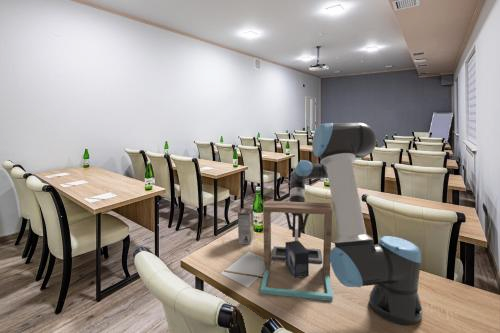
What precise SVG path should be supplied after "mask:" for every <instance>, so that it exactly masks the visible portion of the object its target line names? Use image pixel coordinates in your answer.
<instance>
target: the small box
mask: <svg viewBox="0 0 500 333" xmlns="http://www.w3.org/2000/svg"><path fill="white" fill-rule="evenodd" d="M285 247H286V260H285V266H286V267H287V269H288V270H289V271H290V273H291V274H292V276H293V277H294V279H295V278H302V277H307V276H309V272H310V270H309V268H310V267H309V263H310V262H309V251H308V250H307V249H308V248H306V247H305V245H303V244H302V242H300V240H298V241H295V240H292V241H286V242H285Z"/></svg>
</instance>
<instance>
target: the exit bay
mask: <svg viewBox="0 0 500 333" xmlns="http://www.w3.org/2000/svg"><path fill="white" fill-rule="evenodd" d="M263 272H264V271H263ZM269 273H270V270H265V272H264V273H263V278H262V282H261V285H260V291H259V292H260V294H265V295H273V296H274V295H275V296H281V297H282V296H284V297H294V298H301V299H302V298H305V299H314V300H323V301H332V302H333V299H334V298H333V291H332V286H331V281H330V280H331V278H329V275H325V277H324V281H325V282H324V283H325V289H326V292H325V293H324V292H315V291H306V290H298V289H297V290H295V289H287V288H286V289H285V288H276V287H267V284H268V279H269Z"/></svg>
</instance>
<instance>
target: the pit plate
mask: <svg viewBox="0 0 500 333" xmlns="http://www.w3.org/2000/svg"><path fill="white" fill-rule="evenodd" d="M272 249H273V250H272V252H271V260H278V261H279V260H280V261H286V246H273V248H272ZM306 249H307V250H308V251H309V263H317V264H323V256H322V250H321V249H318V248H317V249H316V248H306Z"/></svg>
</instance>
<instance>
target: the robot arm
mask: <svg viewBox="0 0 500 333" xmlns="http://www.w3.org/2000/svg"><path fill="white" fill-rule="evenodd" d="M377 141H378V139H377V134H376V132H375V130H374V129H373V128H372V127H371V126H370V125H368V124H366V123H363V122H329V123H328V122H326V123H320V124H319V125H317V127H316V129H315V131H314V133H313V137H312V143H311V145H312V147H311V148H312V153H313V154H314V156H315V157H317V158H320V163H312V162H310V161H309V160H305V159H303V160H301V161H299V162H298V163H297V164H296V166H295V169H294V170H293V171H291V173H290V177H289V178H290V181H289V182H290V185H289V186H290V187H289V188H290V189H289V202H306V199H305V198H306V195H305V194H306V182H308V180H316V179H317V180H318V179H327V180H328V185H329V190H330V195H331V201H332V203H331V204H332V210H333V213H334V214H333V215H334V219H335V225H336V231H337V237H336V239H335V240H334V241H333V242H334V247H333V248H331V251H330V267H331V268H332V271H333V273H334V276H335V277H336V279H337V280H338V282H339V283H340V284H341V285H343V286H345V287H347V288H355V287H356V288H362V287H366V286H367V287H368V286H373V287H372V289H371V291H370V293H369V300H368V301H369V306H370V308H371V309H372V311H374V313H376V314H377V315H378V316H380V317H381V318H382V319H384V320H387V321H389V322H392V323H395V324H398V325H404V326H405V325H406V326H407V325H408V326H411V325H416V324H417V323H419V322H420V321H421V320H422V318H423V307H422V303H421V299H420V296H419V293H418V292H419V279H420V272H421V264H422V260H421V258H422V255H421V253H422V252H421V249H420V248H419V247H418V246H417V245H416V244H415V243H413V242H412V241H409V240H406V239H404V238H401V237H398V236H390V235H384V236H381V237H380V238H379V239H378V243H377V244H375V243H374V240H373V238H372V237H371V236H370V235H368V234H367V230H366V226H365V221H364V215H363V212H362V211H363V210H362V206H361V202H360V196H359V195H360V194H359V191H358V186H357V185H358V184H357V180H356V177H355V172H354V171H355V170H354V167H353V166H354V165H353V163H354V162H355V161H357V159H363V158H365V157H367V156H368V155H370V154H371V153H372V152H373V151H374V150H375V148H376V147H377ZM289 214H291V215H292V222H291V220H290V215H289ZM284 215H285V216H286V221H287V222H286V223H287V225H288V229H289V230H291V231H292V232H291V233H292V238H294V241H299V239H301V236H302V231H305V229H306V225H307V222H308V218H309V216H310V215H311V214H305V215H304V214H303V213H284ZM302 215H304V219H303V223H302ZM296 217H297V223H298V224H297V225H298V226H297V228H296Z"/></svg>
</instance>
